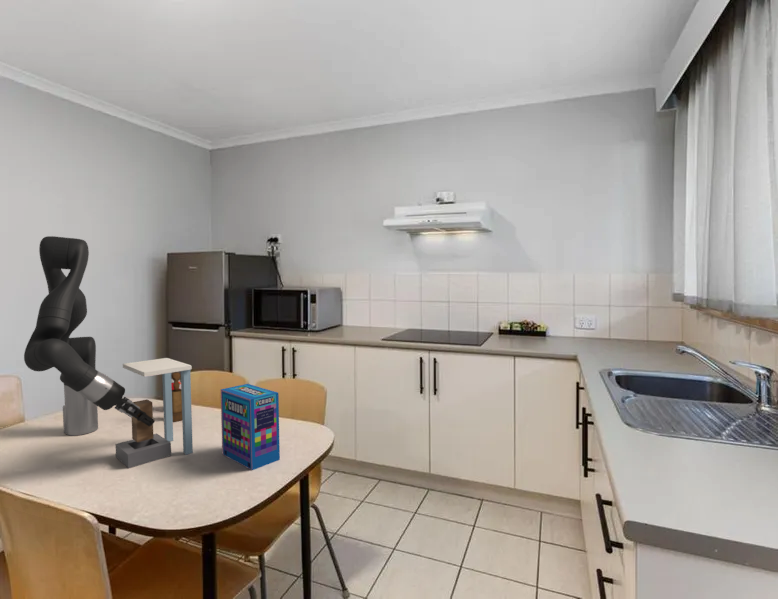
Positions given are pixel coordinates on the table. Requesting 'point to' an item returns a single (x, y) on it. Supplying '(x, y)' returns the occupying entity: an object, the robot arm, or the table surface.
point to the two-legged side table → (170, 394)
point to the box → (250, 425)
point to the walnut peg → (139, 428)
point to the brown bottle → (176, 398)
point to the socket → (142, 451)
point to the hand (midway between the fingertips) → (149, 421)
